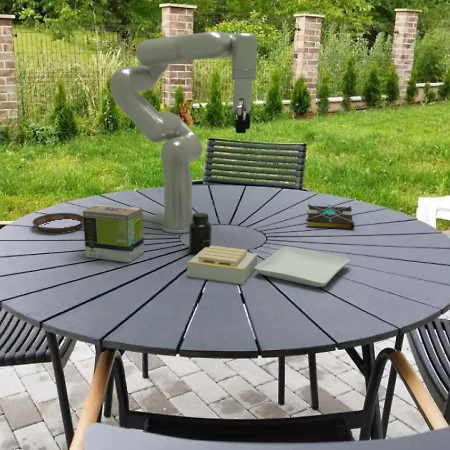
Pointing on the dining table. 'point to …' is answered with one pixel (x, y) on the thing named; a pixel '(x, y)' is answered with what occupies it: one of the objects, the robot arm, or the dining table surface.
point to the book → (330, 217)
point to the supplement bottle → (199, 233)
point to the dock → (222, 264)
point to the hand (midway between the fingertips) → (242, 130)
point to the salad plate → (302, 266)
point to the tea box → (113, 232)
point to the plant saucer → (57, 216)
